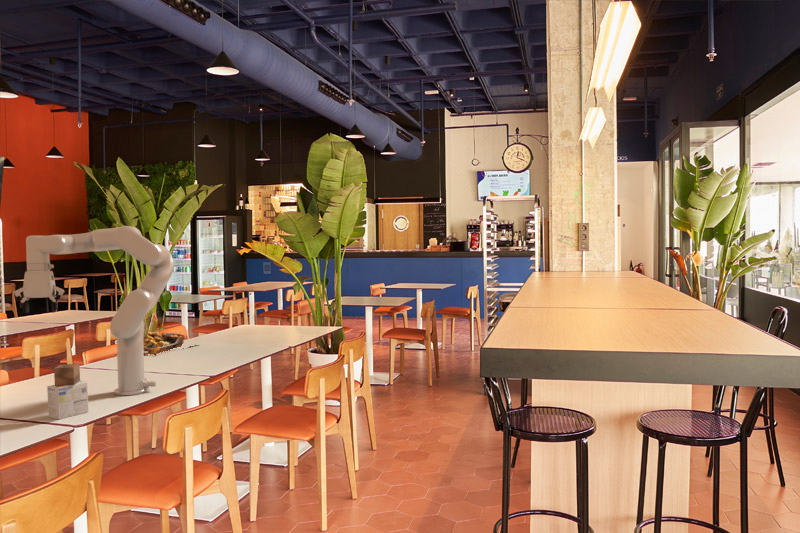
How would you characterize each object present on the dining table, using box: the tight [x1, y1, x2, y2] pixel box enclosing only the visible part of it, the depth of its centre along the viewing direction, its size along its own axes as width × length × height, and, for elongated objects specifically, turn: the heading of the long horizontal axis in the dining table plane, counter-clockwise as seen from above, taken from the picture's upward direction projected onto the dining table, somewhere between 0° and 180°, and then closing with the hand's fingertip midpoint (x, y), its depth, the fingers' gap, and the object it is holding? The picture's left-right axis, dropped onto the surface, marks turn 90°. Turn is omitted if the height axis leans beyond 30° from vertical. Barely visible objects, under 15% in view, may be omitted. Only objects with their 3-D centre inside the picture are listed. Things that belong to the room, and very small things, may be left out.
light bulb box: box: [46, 380, 89, 420], centre depth 207 cm, size 11×7×11 cm, turn 148°
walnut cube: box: [53, 363, 81, 386], centre depth 207 cm, size 6×6×6 cm
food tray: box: [143, 331, 186, 357], centre depth 337 cm, size 35×26×11 cm
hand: (40, 312), depth 232 cm, fingers open, 9 cm apart
